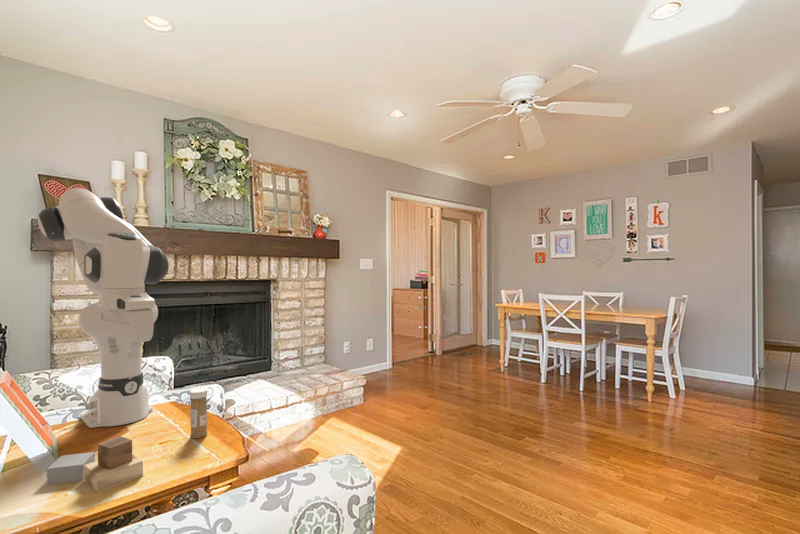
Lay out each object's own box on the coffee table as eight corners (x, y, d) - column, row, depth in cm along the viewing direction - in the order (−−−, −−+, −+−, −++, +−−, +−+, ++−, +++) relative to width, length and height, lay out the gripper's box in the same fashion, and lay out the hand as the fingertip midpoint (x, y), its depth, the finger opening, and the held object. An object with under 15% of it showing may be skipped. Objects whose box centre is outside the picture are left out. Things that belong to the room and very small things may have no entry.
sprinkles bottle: (208, 436, 125) (208, 390, 125) (191, 440, 122) (190, 393, 122) (205, 431, 129) (205, 386, 129) (189, 434, 126) (188, 389, 126)
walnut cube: (97, 465, 100) (97, 443, 100) (120, 456, 104) (120, 436, 104) (109, 470, 98) (109, 448, 97) (132, 461, 102) (132, 440, 102)
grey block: (61, 471, 105) (61, 455, 105) (94, 467, 107) (94, 451, 107) (47, 486, 98) (47, 468, 98) (83, 481, 100) (83, 464, 100)
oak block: (84, 481, 100) (83, 464, 100) (126, 467, 107) (126, 451, 107) (99, 494, 95) (98, 476, 95) (142, 477, 102) (142, 461, 102)
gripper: (88, 297, 106) (88, 352, 107) (130, 303, 96) (130, 365, 96) (116, 296, 112) (116, 348, 112) (159, 301, 101) (158, 359, 101)
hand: (123, 356), depth 104 cm, fingers open, 8 cm apart
